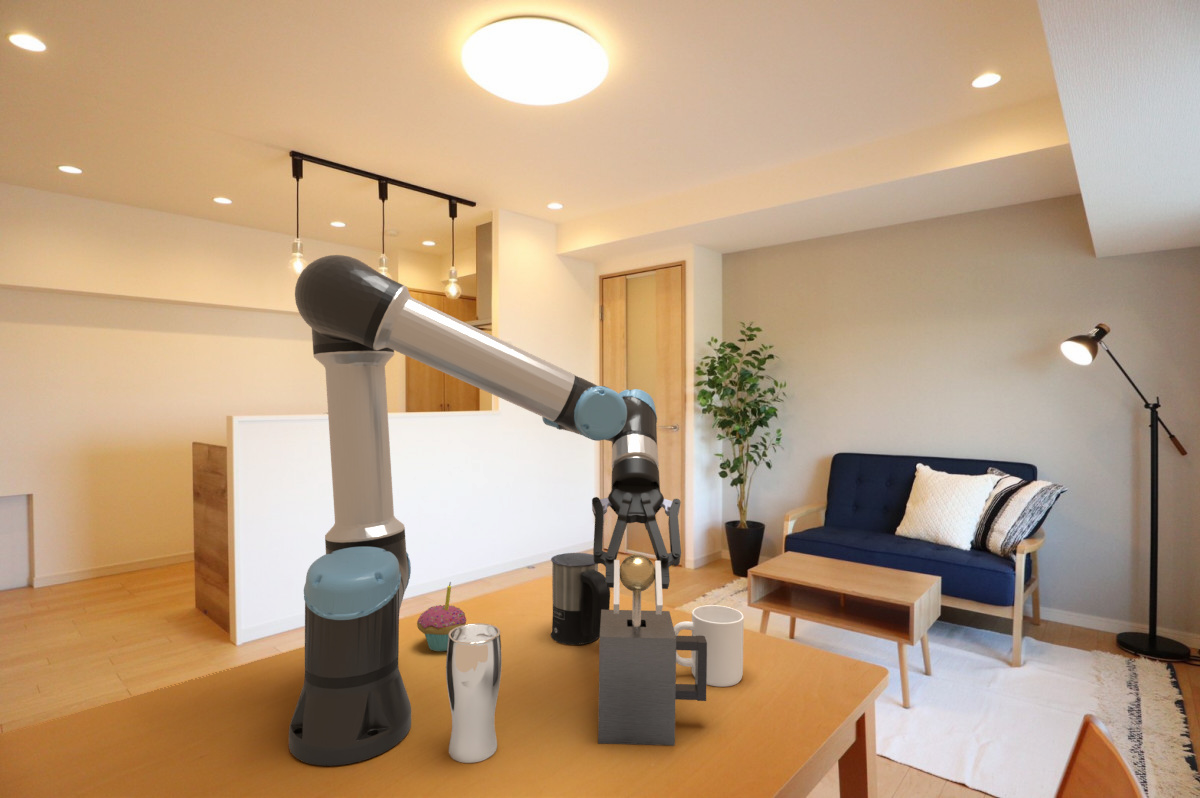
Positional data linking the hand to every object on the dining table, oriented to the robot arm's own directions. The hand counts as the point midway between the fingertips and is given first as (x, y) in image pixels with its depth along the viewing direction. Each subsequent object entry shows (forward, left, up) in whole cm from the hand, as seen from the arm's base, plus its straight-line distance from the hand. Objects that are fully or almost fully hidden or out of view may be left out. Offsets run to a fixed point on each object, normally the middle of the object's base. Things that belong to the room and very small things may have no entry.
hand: (637, 609), depth 80 cm
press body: (+2, +4, -17) cm, 18 cm away
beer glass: (-21, -3, -17) cm, 28 cm away
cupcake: (-34, +28, -17) cm, 47 cm away
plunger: (0, +4, -16) cm, 16 cm away
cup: (+12, +19, -17) cm, 28 cm away
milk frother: (-7, +35, -18) cm, 40 cm away
